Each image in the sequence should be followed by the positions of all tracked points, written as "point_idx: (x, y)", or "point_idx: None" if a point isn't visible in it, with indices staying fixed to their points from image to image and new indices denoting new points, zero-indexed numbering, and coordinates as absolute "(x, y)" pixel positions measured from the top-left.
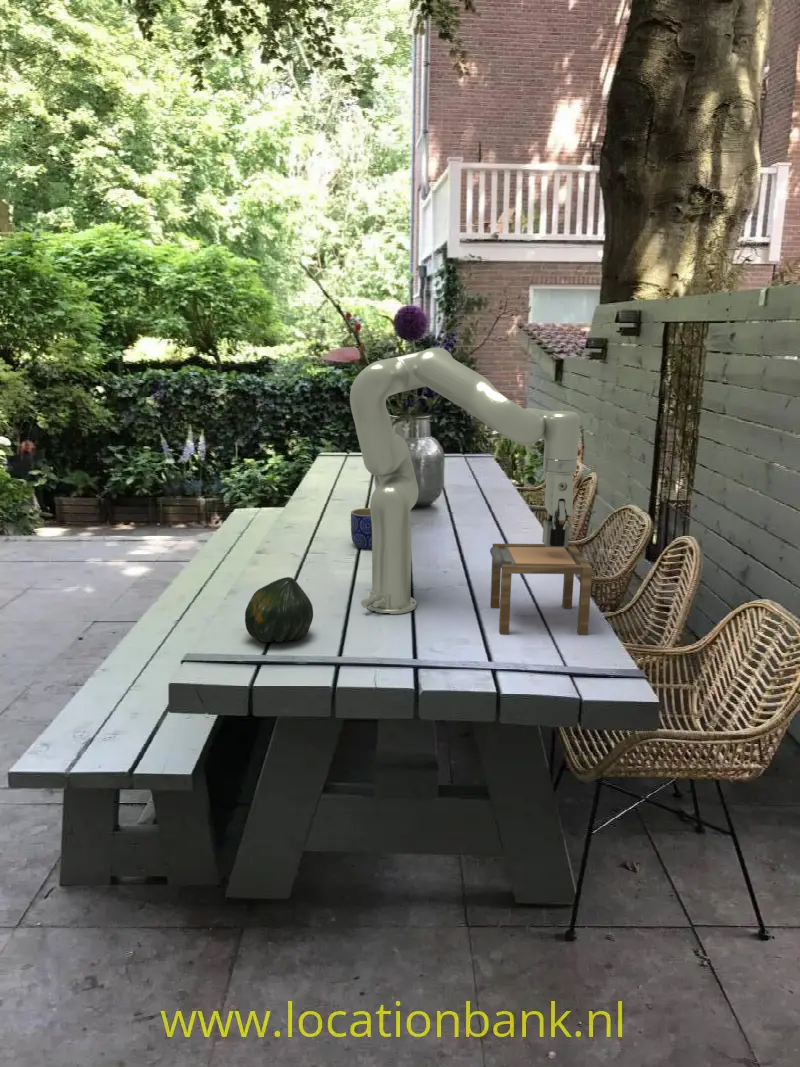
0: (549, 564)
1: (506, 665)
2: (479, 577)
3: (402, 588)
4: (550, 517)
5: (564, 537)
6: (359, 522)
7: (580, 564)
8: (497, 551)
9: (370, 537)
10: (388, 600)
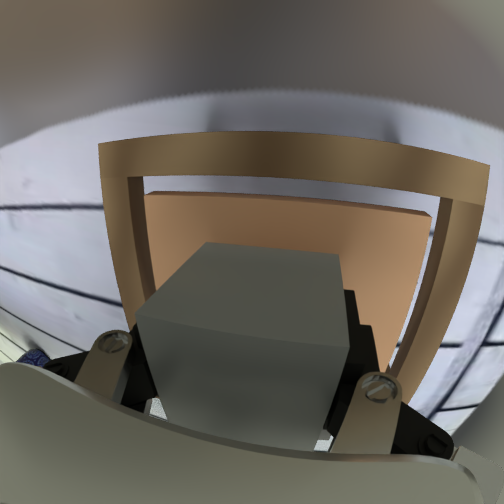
0: (401, 323)
1: (480, 328)
2: (82, 278)
3: None
4: (127, 403)
5: (359, 321)
6: None
7: (434, 195)
8: None
9: None
10: None
